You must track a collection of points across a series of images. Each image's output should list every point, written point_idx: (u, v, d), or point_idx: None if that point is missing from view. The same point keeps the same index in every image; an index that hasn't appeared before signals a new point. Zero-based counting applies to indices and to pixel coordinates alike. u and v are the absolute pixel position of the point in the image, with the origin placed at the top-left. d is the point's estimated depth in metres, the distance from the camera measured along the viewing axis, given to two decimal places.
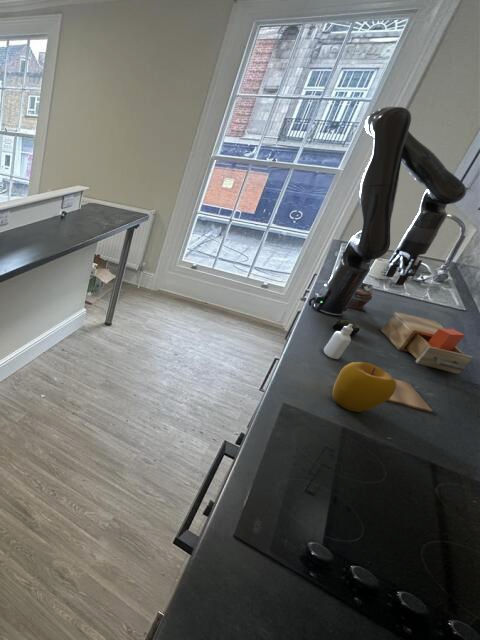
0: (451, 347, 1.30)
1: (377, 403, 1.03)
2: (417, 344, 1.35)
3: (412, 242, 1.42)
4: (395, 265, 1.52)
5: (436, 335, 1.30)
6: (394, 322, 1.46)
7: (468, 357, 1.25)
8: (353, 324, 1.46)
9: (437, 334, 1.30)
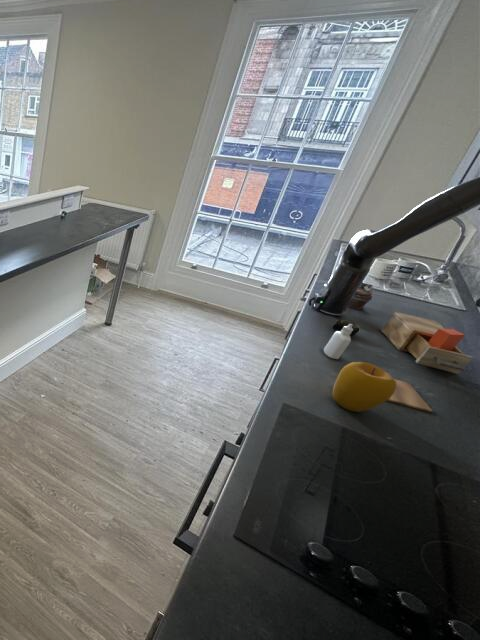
0: (451, 347, 1.30)
1: (377, 403, 1.03)
2: (417, 344, 1.35)
3: None
4: None
5: (436, 335, 1.30)
6: (394, 322, 1.46)
7: (468, 357, 1.25)
8: (353, 324, 1.46)
9: (437, 334, 1.30)
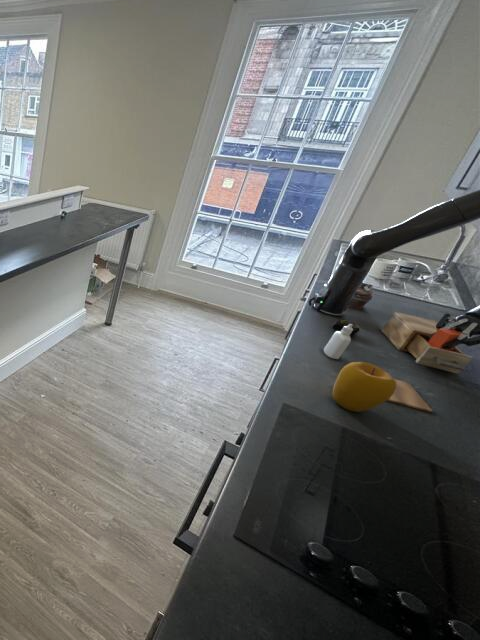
0: None
1: (377, 403, 1.03)
2: (417, 344, 1.35)
3: None
4: None
5: (436, 335, 1.30)
6: (394, 322, 1.46)
7: (468, 357, 1.25)
8: (353, 324, 1.46)
9: (437, 334, 1.30)
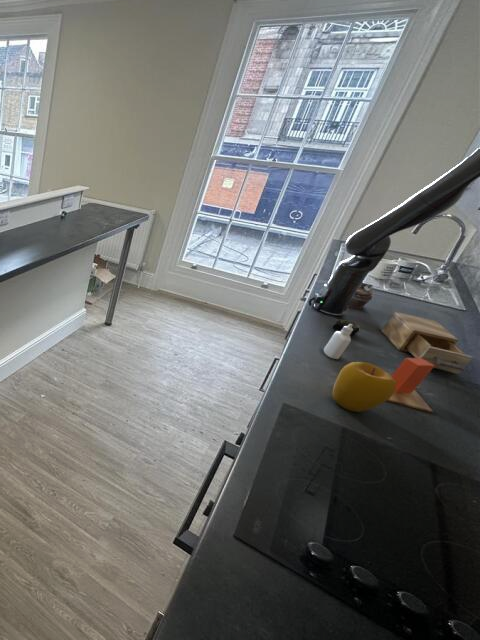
0: (420, 379, 1.15)
1: (377, 403, 1.03)
2: (417, 344, 1.35)
3: None
4: None
5: (403, 365, 1.15)
6: (394, 322, 1.46)
7: (468, 357, 1.25)
8: (353, 324, 1.46)
9: (404, 364, 1.15)
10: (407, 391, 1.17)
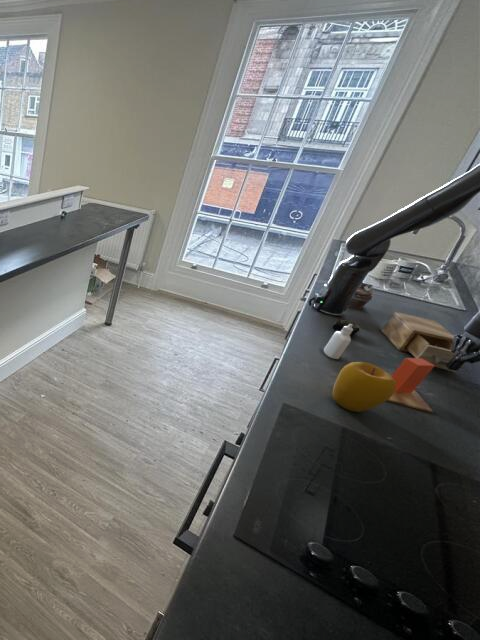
0: (420, 379, 1.15)
1: (377, 403, 1.03)
2: (416, 343, 1.35)
3: None
4: None
5: (403, 365, 1.15)
6: (394, 322, 1.46)
7: None
8: (353, 324, 1.46)
9: (404, 364, 1.15)
10: (407, 391, 1.17)
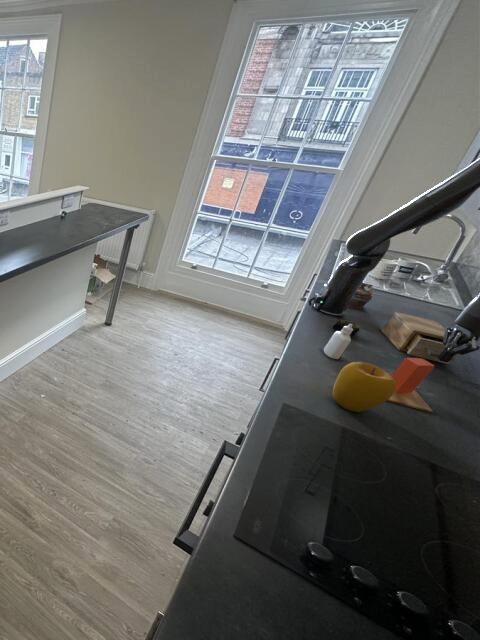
0: (420, 379, 1.15)
1: (377, 403, 1.03)
2: None
3: (476, 318, 1.18)
4: None
5: (403, 365, 1.15)
6: (394, 322, 1.46)
7: None
8: (353, 324, 1.46)
9: (404, 364, 1.15)
10: (407, 391, 1.17)
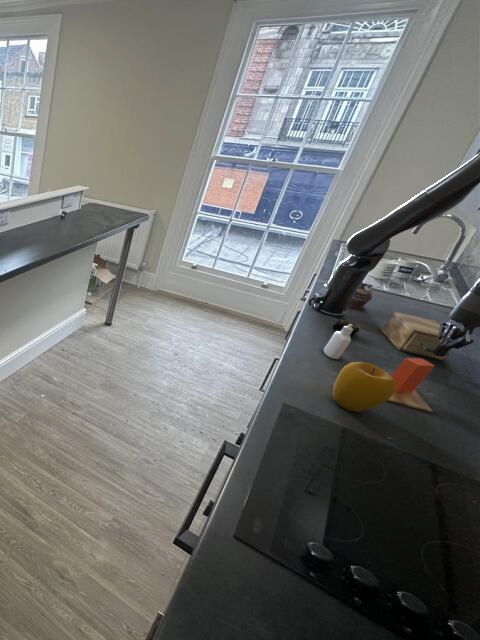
0: (420, 379, 1.15)
1: (377, 403, 1.03)
2: None
3: (469, 312, 1.21)
4: None
5: (403, 365, 1.15)
6: (394, 322, 1.46)
7: None
8: (353, 324, 1.46)
9: (404, 364, 1.15)
10: (407, 391, 1.17)
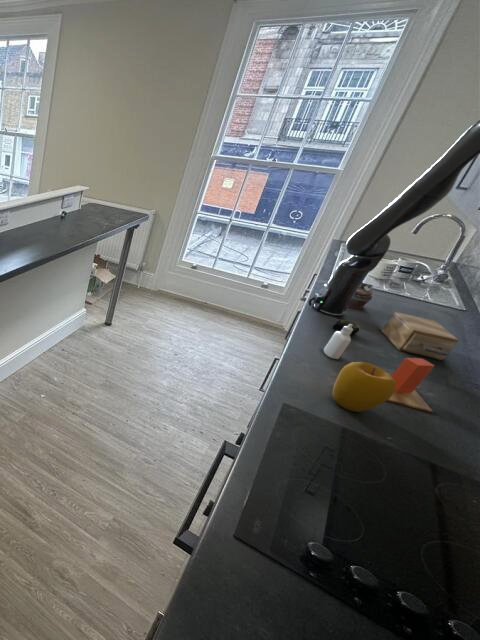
0: (420, 379, 1.15)
1: (377, 403, 1.03)
2: None
3: None
4: None
5: (403, 365, 1.15)
6: (394, 322, 1.46)
7: (452, 343, 1.32)
8: (353, 324, 1.46)
9: (404, 364, 1.15)
10: (407, 391, 1.17)
